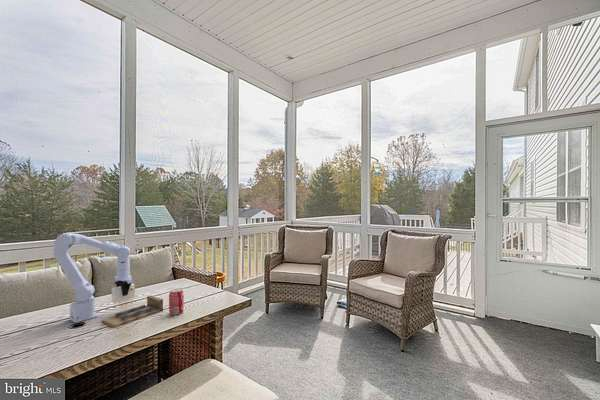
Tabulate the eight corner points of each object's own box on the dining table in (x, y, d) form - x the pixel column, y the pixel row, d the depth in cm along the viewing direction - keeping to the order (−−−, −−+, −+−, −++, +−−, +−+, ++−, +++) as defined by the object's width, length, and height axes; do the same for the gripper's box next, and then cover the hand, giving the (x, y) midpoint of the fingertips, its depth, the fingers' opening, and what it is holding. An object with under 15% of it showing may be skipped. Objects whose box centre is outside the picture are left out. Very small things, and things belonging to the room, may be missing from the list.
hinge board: (113, 327, 129) (113, 314, 129) (101, 321, 135) (101, 309, 135) (162, 310, 149) (162, 299, 149) (150, 306, 155) (150, 295, 155)
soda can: (180, 309, 151) (180, 287, 151) (185, 313, 146) (185, 290, 146) (167, 313, 146) (167, 290, 146) (172, 317, 141) (172, 293, 141)
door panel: (115, 303, 142) (115, 289, 142) (111, 301, 145) (111, 288, 145) (135, 297, 151) (135, 284, 151) (131, 296, 153) (131, 283, 153)
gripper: (138, 269, 148) (138, 295, 147) (124, 266, 155) (124, 290, 155) (124, 272, 142) (124, 299, 141) (110, 268, 149) (110, 294, 149)
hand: (123, 294), depth 148 cm, fingers closed on door panel, 3 cm apart
